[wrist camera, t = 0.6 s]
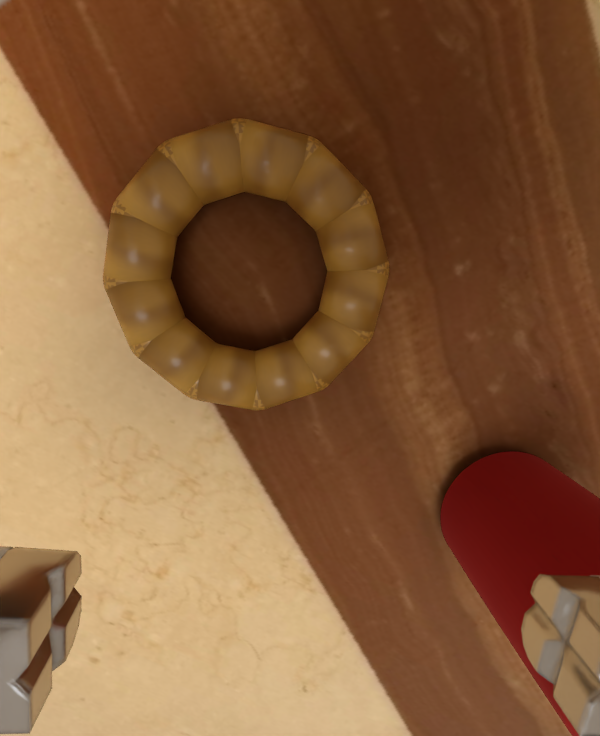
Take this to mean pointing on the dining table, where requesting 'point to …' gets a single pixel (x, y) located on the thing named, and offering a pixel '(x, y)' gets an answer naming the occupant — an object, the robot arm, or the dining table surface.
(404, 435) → the dining table surface
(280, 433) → the dining table surface
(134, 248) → the ring
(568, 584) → the robot arm
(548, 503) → the beverage can
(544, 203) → the dining table surface
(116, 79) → the dining table surface
